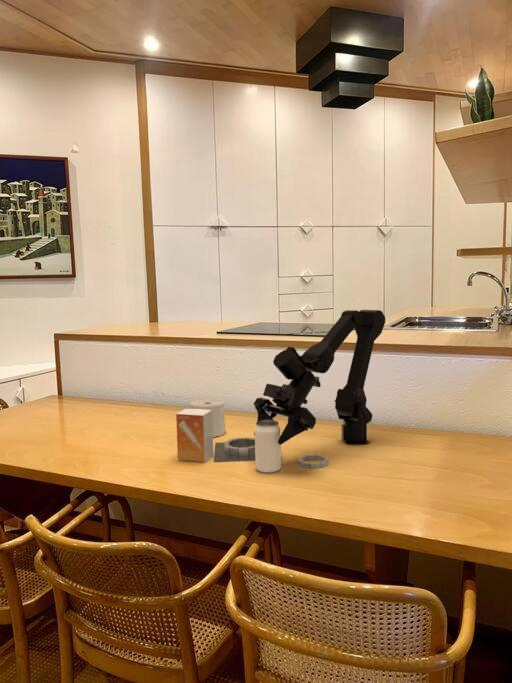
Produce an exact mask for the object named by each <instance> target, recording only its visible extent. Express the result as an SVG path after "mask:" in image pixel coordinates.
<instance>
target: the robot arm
mask: <svg viewBox="0 0 512 683" xmlns="http://www.w3.org/2000/svg"><path fill="white" fill-rule="evenodd" d="M385 325H386V316H385V314H384V313H383V311H382V310H379V309H360V310H356V309H355V310H354V309H352V310H351V309H348V310H344V311H343V312H341V315H340V318H338V320H337V321H336V322H335V323H334V324H333V326H332V327H331V328H330V329H329V331H327V333H326V335H324V337H323V338H322V339H321V340H320V341H319V342H318V343H315V344H313V345H311V346H310V347H309V348H308V349H306V350H305V351H304V352H303V353H302V355H300V354H299V353H298V351H297V349H296V348H295V347H294V346H287V347H286V349H283V350H282V351H281V352H279V353H278V354H276V355H275V357H274V358H273V362H272V363H273V365H274V366H275V368H276V369H277V370H278V371H279V372H280V374H281V375H282V376H284V378H285V379H287V381H289V380H290V382H289V384H285V383H283V384H282V385H277V384H272V383H271V384H270V383H266V384H265V388H264V390H263V393H262V396H264V397H268V398H264V397H256V399H255V401H254V402H253V406H254V409H255V410H256V413H257V420H256V423H257V422H258V421H262V420H274V418H275V417H277V415H280V416H285V417H287V422H286V423H287V424H286V425H285V427H284V428H283V431H282V433H280V438H279V440H278V444H279V445H283V444H285V443H286V442H288V441H289V440H290V439H292V438H295V436H297V435H299V434H302V433H303V432H308V431H309V429H310V430H313V429H314V428H315V426H316V423H317V418H316V417H315V416H314V414H312V412H311V411H310V410H309V408H307V407H303V406H302V405H307V403H308V401H309V400H307V397H308V395H309V394H310V392H311V390H312V389H313V387H315V388H321V380H320V377H319V376H316V375H315V374H314V373H316V374H326V373H328V371H329V370H330V368H331V366H332V365H333V363H334V362H335V353H336V352H337V350H338V349H339V348H340V347H341V346H342V344H343V343H344V342H345V340H347V338H348V337H349V335H350V334H351V332H352V331H355V334H356V337H357V338H356V343H355V347H354V351H353V356H352V360H351V364H350V368H349V372H348V375H347V381H346V385H345V386H343V388H338V390H337V392H336V396H335V399H334V403H335V404H334V407H335V408H334V409H335V411H336V413H337V414H336V415H337V417H338V419H339V420H342V422H343V423H342V424H341V439H342V440H343V441H344V443H345V444H346V445H354V444H355V445H358V444H361V445H362V444H369V440H368V436H367V435H368V431H367V430H368V428H367V427H368V424H369V423H371V422H372V418H373V413H372V412H371V411H370V410H369V408H368V407H367V406H366V405H367V396H366V393H365V389H364V388H365V383H366V379H367V376H368V370H369V365H370V361H371V357H372V353H373V348H374V344H375V341H376V340H377V339H378V337H380V336H381V334H382V333H383V330H384V328H385ZM269 398H271V399H272V401H271V400H270V399H269ZM273 403H274V404H273ZM253 435H254V437H255V431H254V432H253Z"/></svg>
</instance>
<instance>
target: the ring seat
mask: <svg viewBox="0 0 512 683" xmlns="http://www.w3.org/2000/svg"><path fill="white" fill-rule="evenodd" d="M245 461H246V462H250V461H255V437H248V436H247V437H236V438H231V439H228V440H227V441H223V442H222V441H221V442H215V445H214V453H213V463H223V462H225V463H226V462H245Z"/></svg>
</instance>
